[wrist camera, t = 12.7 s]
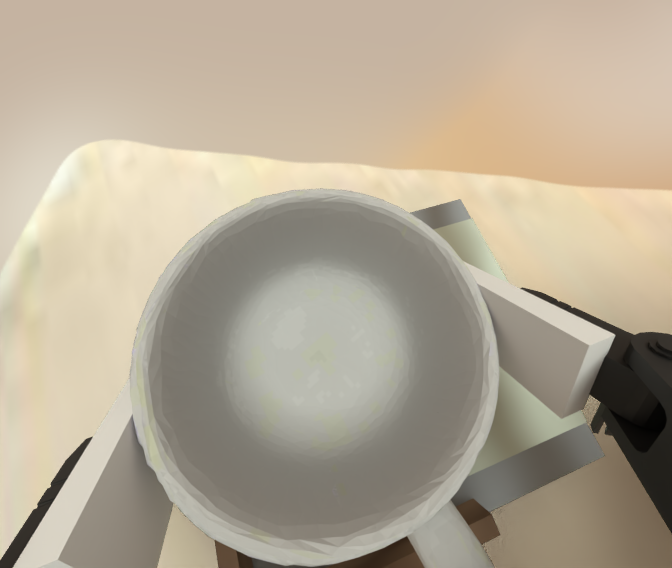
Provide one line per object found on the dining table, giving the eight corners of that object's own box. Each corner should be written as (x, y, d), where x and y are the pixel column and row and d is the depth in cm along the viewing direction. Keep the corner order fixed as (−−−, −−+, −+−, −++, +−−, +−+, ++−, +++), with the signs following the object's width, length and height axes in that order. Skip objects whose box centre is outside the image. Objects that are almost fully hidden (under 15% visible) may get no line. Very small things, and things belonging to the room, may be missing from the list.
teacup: (213, 295, 16) (108, 225, 8) (374, 245, 17) (414, 147, 10) (274, 569, 12) (182, 951, 4) (475, 470, 13) (680, 609, 6)
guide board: (453, 207, 20) (471, 185, 18) (587, 450, 15) (637, 465, 13) (193, 278, 17) (172, 264, 15) (251, 609, 12) (234, 669, 10)
